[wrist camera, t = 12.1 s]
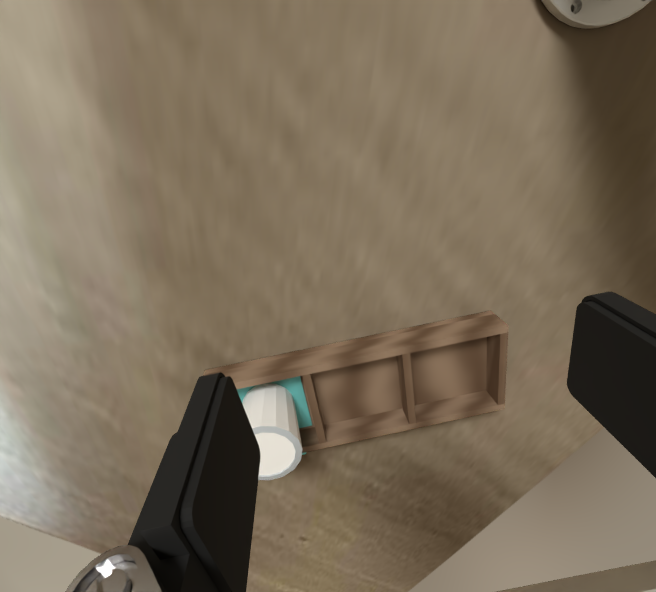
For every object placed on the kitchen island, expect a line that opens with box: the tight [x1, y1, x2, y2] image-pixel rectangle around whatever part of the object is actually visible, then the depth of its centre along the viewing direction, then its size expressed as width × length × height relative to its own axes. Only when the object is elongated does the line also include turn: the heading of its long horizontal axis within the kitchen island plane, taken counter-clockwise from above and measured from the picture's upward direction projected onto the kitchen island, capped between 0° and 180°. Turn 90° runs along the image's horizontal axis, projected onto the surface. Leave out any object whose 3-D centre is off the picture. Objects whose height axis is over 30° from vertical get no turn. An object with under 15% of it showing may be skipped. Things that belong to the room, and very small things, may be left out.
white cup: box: [242, 383, 302, 480], centre depth 36 cm, size 7×7×7 cm
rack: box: [203, 311, 508, 455], centre depth 39 cm, size 31×12×3 cm, turn 100°
